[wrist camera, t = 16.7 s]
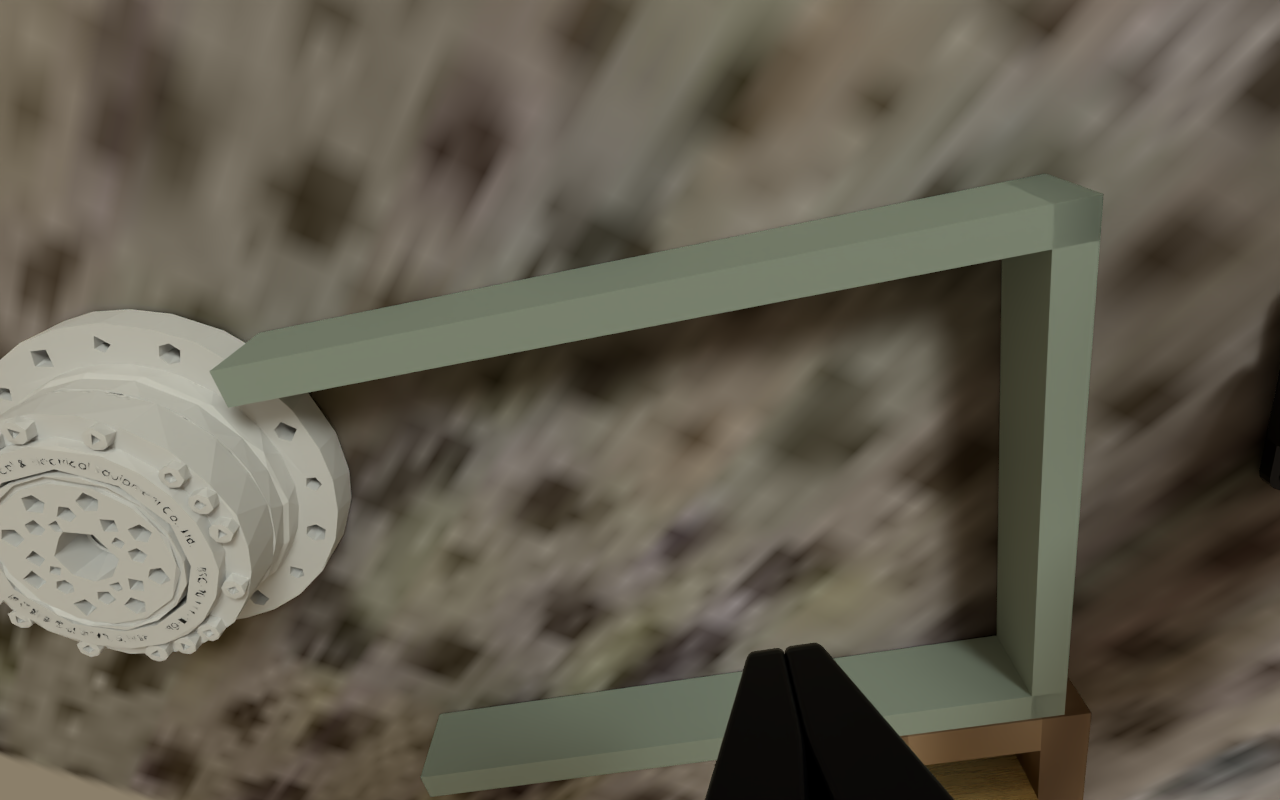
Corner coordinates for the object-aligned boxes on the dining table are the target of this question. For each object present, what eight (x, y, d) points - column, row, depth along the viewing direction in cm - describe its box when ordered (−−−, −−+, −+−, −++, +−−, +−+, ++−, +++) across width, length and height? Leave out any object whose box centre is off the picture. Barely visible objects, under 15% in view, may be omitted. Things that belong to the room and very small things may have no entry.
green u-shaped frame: (1045, 173, 18) (1103, 193, 15) (1026, 652, 25) (1064, 714, 22) (259, 333, 20) (209, 371, 17) (448, 733, 27) (430, 797, 24)
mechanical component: (-67, 390, 21) (171, 628, 25) (-233, 473, 17) (82, 740, 21) (208, 244, 19) (418, 529, 23) (92, 300, 15) (370, 632, 19)
